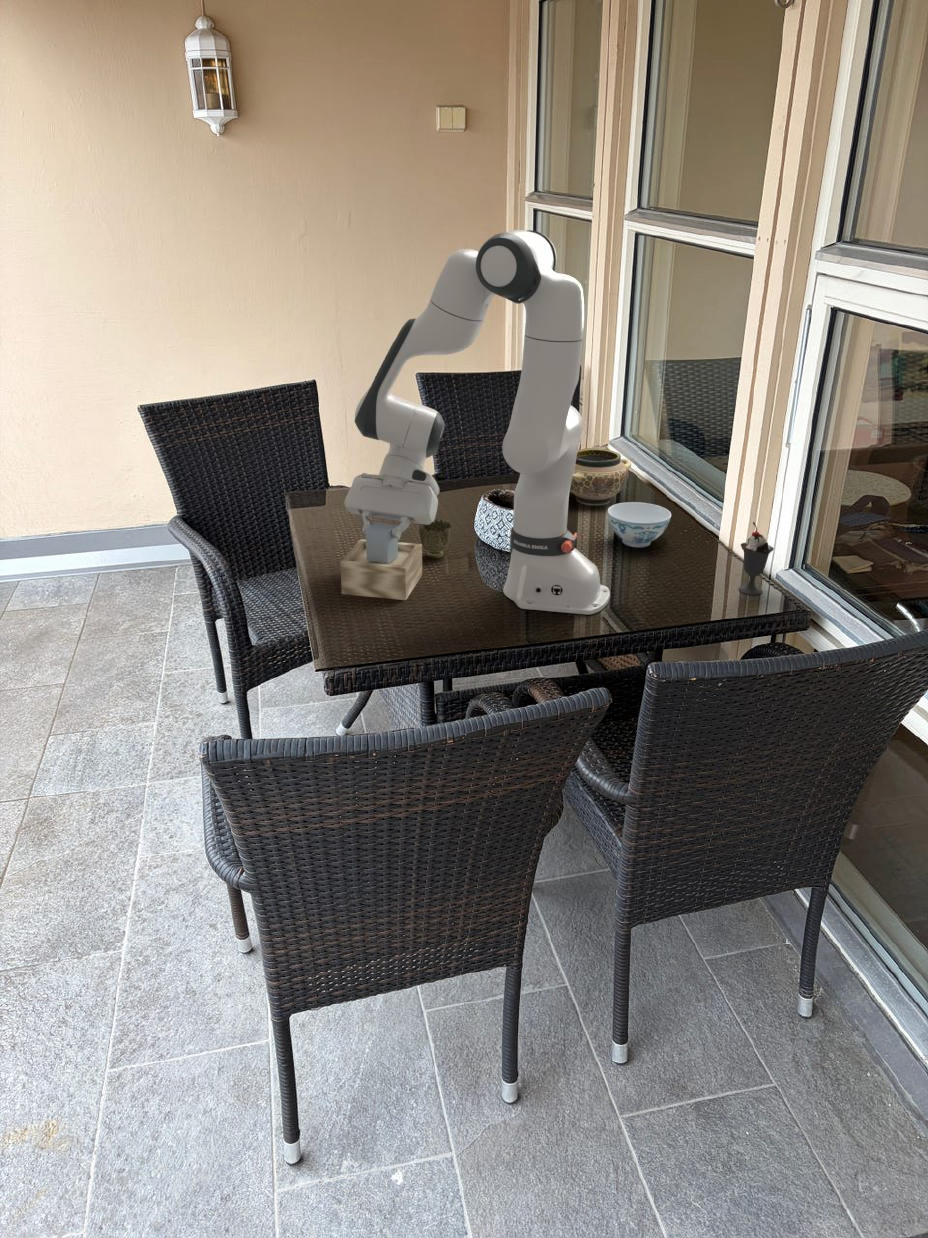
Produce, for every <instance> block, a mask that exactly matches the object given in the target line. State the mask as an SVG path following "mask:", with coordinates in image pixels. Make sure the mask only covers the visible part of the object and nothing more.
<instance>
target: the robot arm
mask: <svg viewBox="0 0 928 1238" xmlns="http://www.w3.org/2000/svg"><path fill="white" fill-rule="evenodd" d="M557 265H558V253H557V251H556V247H555V245H554V243H553V241H551V239H550V238H549V237H548V236H547V235H545V234H543V233H541V232H540V231H537V230H533V229H532V230H523V229H513V230H508V231H505V232H499V233H496V234H494V235H493V236H491V237H490V238H488V239H487V240H486V241H485V242H484V243H483V244H482V246H481V247H480V248H479V251H478V250H476V249H474V248H473V249H472V248H462V249H458V250H455V251H454V252H452V253H451V254H450V255H449V256H448V259H447V260H446V262H445V264H444V266H443V268H442V270H441V272H440V274H439V276H438V279H437V280H436V283H435V286H434V288H433V291H432V294H431V296H430V299H429V302H428V304H427V306H426V308H425V309H424V311H422V313H421V314H420V315H418V316H417V317H415V318H409V319H408V320H407V321H405V323H404V325H403V326H402V327H401V329H400V330H399V331H398V334H397V336H396V337H395V339H394V341H393V342H392V344H391V345H390V348H389V349H388V352H387V354H386V355H385V357H384V359H383V361H382V363H381V365H380V367H379V369H378V370H377V373H376V374H375V376H374V379H373V381H372V383H371V386H369V388H368V389H367V390H366V392H365V393H364V395H363V396H362V397H361V399H360V400H359V402H358V404H357V406H356V409H355V414H354V424H355V426H356V428H357V430H358V431H359V433H360V434H361V436H362V437H365V438H369V439H372V440H376V441H382V442H385V443H387V444H389V449H388V452H387V454H385V457H384V459H383V461H382V464H381V468H380V471H379V473H378V474H374V473H372V474H370V473H366V472H363V473H361V474H358V475H357V476H355V477H354V478H353V480H352V483H351V486H350V488H349V490H348V492H347V494H346V497H345V499H344V501H343V502H344V503H343V504H344V507H345V509H346V510H347V511H348V512H349V513H350V514H352V515H353V514H354V515H361V518H362V522H363V526H362V529H361V530H362V533H363V534H364V535H366V532H365V529H366V528H368V527H369V526H371V525H372V524H370V521H372V519H373V517H374V518H381V519H387V520H394V521H400V524H399V525H397V528H393V529H392V532H391V537H392V538H394V539H398V540H400V538H401V536H402V533H403V532H404V531H406V530H407V528H409V527H410V524H411V523H415V524H419V525H420V524H426V525H429V524H431V523H432V522H435V520H436V515H437V510H438V506H439V500H438V497H437V496H438V495H439V494H440V487H439V485H438V483H437V481H436V480H435V478H434V477H433V475H432V474H431V473H429V472H426V471H425V470H424V468H425V467H424V466H425V465H424V464H425V461H426V460H427V459H428V458H431V457H432V456H433V455H435V454H437V453H438V451H439V447H440V441H441V438H442V437H443V436H444V435H443V434H444V432H445V430H446V429H445V428H446V424H445V421H444V419H443V416H442V414H441V413H440V412H439V411H437V410H436V409H433V408H431V407H428V406H425V405H423V404H420V403H416V402H413V401H411V400H408V399H406V398H403V397H400V396H398V395H394V394H393V393H392V391H391V389H392V387H393V385H394V384H395V382H396V380H397V379H398V377H399V375H400V372H401V371H402V370H403V367H404V365H405V363H407V361H409V360H410V359H411V358H414V357H415V358H416V357H419V356H427V355H428V356H429V355H430V356H435V355H437V356H443V355H444V356H445V355H452V354H457V353H460V352H462V351H465V350H466V349H467V348H469V347H471V345H472V344H474V342H475V341H476V338H477V337H478V334H479V333H480V331H481V328H482V325H483V323H484V319H485V317H486V315H487V311H488V309H489V306H490V304H491V301H492V300H493V298H494V296H495V295H497V296H499V297H501V298H504V299H506V300H508V301H509V302H512V303H514V304H523V305H524V308H525V326H524V338H523V339H524V340H523V349H522V350H523V351H522V359H521V360H522V361H521V373H520V378H519V383H518V388H517V392H516V397H515V400H514V403H513V408H512V410H511V411H512V412H511V418H510V421H509V425H508V429H507V430H506V431H507V432H506V433H505V435H504V438H503V441H502V445H501V446H502V448H501V451H502V454H503V457H504V460H505V461H506V463H507V465H508V466H509V467H510V468H511V469H513V470H514V471H515V472H517V473H520V474H519V477H518V481H517V483H516V486H515V490H514V495H513V520H512V521H513V524H512V527H511V528H510V536H509V548H510V549H509V552H510V554H511V555H510V560H509V561H510V562H509V567H508V573H507V576H506V581H505V583H504V587H503V589H502V591H503V594H504V595H505V596H506V597H507V598H509V599H510V600H512V601H513V602H514V603H515V604H516V606H517V607H518V608H520V609H523V610H534V611H535V610H536V611H545V612H553V613H555V612H557V613H564V614H565V613H567V614H578V615H594V614H597V613H598V612H600V611H602V610H603V609H604V608H605V607H606V606H607V605H608V603H609V602H610V600H611V591H610V588H608V586H606V585H603V584H601V579H600V571H599V569H598V567H597V565H596V564H595V563H593V562H592V561H591V560H590V559H588V558H587V557H586V556H585V555H584V554H583V553H582V552H580V551H579V550H578V549H577V548H576V540H577V537H578V536H577V534H578V532H574V534H572V532H571V531H570V530H569V529H568V528H567V526H568V514H569V501H570V499H569V497H570V493H571V492H570V486H571V481H572V477H573V473H574V468H575V463H576V457H577V452H578V450H579V446H580V444H579V443H580V441H581V438H582V434H583V431H584V422H583V418H582V415H581V413H580V412H579V411H578V410H577V408H576V407H574V406H573V405H572V401H573V398H574V394H575V391H576V388H577V386H578V383H579V381H580V379H579V378H580V371H581V362H582V351H583V345H584V344H583V342H584V332H585V299H584V298H585V297H584V289H583V286H582V284H581V283H580V281H578V279H576V278H575V277H572V276H571V275H568V274H565V273H558V272H556V268H557Z"/></svg>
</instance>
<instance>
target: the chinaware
mask: <svg viewBox="0 0 928 1238" xmlns="http://www.w3.org/2000/svg"><path fill="white" fill-rule="evenodd" d="M607 517H608V522H609V525H610V527H611V529H612V530H613V531H612V532H614V533H615V534H616V536H618V537H619V538H620V539H621V540H622V541H621V542H622V543H623V545H626V546H628V547H632V548H645V547H648V546H650V545H651V542H653V541H655V540H657V539H658V538H659V537H660V536H661V535H662V534H663V533H664V532H665V530H666V529H667V527H668V525H669V523H670V521H671V517H672V513H671V511H670V510H668V509H667V508H665V507H664V506H662V505H661V506H660V505H657V504H653V503H650V502H649V503H648V502H639V501H638V502H636V501H631V502H620V503H616V504H613V505H611V506H609V507H608V508H607Z"/></svg>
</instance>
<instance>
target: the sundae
mask: <svg viewBox="0 0 928 1238" xmlns="http://www.w3.org/2000/svg"><path fill="white" fill-rule="evenodd" d="M752 524H753V526H754V527H755V531H753V532H752V534H751V536H750V537H749V538H748V539H747V540H746V542H742V543H741V544H740V547H741V550H742V551H743V568H744V569H743V570H744V572H746V574H747V575H748V576H749V580H748V583H747V585H742V586H739V587H738V591H739V592H740V593H741V594H744V595H747V596H759V595H762V594H763V590H762V589H761V588H760V587H758V586H756V584H755V583H756V577H758V576H760V575H761V574H762V573H764V570H765V568H766V565H767V562H768V559H769V556H770V553H772V552H773V551H774V549H775V548H774V547H773V546H771V545H770V544H769V543H768V542H767V540H766V537H765V536H764V535H763V534H760V532H759V531H758V527H757V525H756V522H754V521H753V522H752Z"/></svg>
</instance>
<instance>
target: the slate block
mask: <svg viewBox="0 0 928 1238" xmlns="http://www.w3.org/2000/svg"><path fill="white" fill-rule="evenodd" d="M370 525H371V526H369V527H368V528H366V529H365V532H366V534H365V539H366V559H367V560H368V561H374V562H380V563H386V564H388V563H389V562H391V561H392V560H393V559H395V558H396V557H397V556H398V542H399V539H394V538H392V537H391V532H392V529H393V528H397V527H398V524H394V523H393V524H392V523H387V522H379V521H375V522H374V523H373V524H370Z"/></svg>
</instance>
